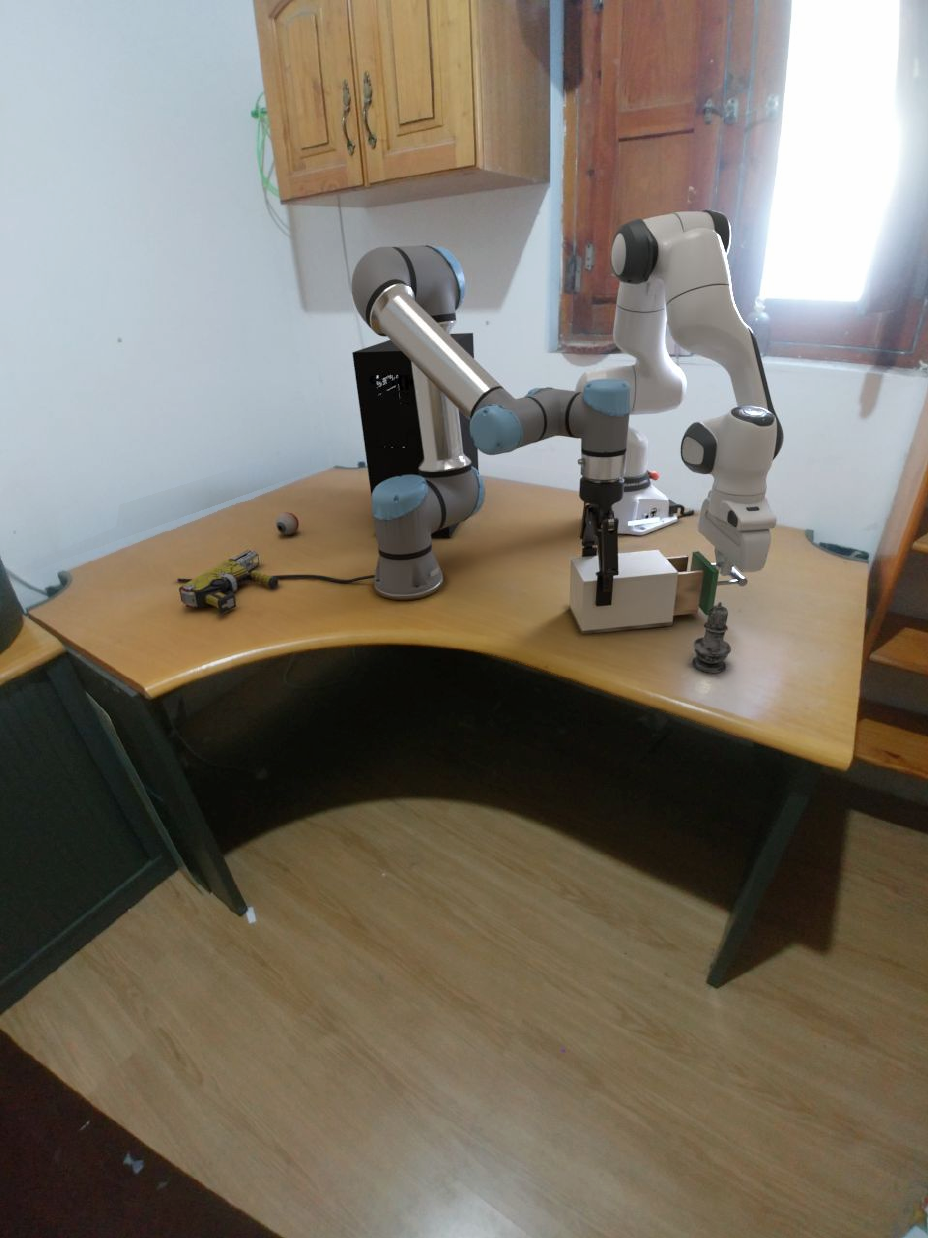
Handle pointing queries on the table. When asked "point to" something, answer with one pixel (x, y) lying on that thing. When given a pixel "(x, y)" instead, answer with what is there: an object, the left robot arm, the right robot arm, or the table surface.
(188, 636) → the table surface
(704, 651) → the dark grey chess piece
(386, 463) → the black box
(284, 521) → the eyeball
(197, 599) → the toy gun
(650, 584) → the cabinet
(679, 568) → the drawer
